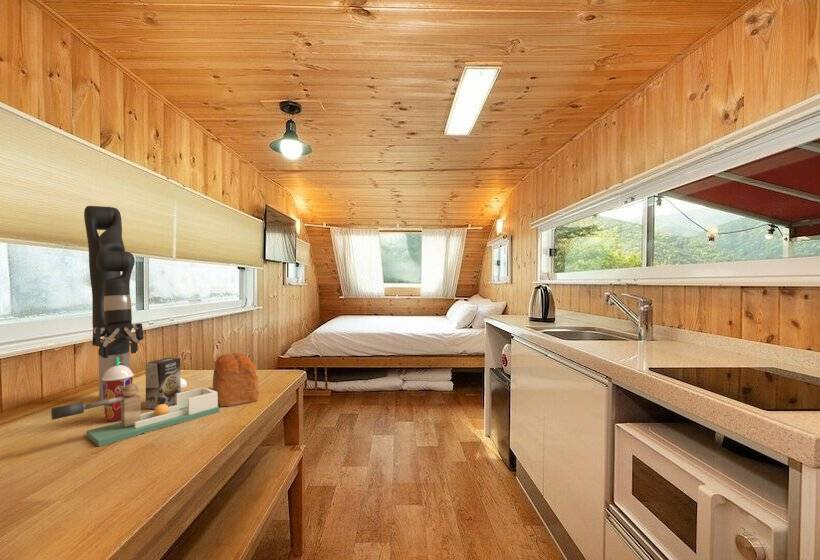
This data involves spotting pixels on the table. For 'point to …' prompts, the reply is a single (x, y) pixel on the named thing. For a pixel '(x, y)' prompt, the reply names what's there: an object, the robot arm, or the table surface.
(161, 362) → the coffee box
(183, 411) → the pitch
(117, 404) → the smoothie
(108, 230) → the robot arm
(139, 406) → the rod
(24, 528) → the table surface
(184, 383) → the garlic bulb
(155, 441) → the table surface
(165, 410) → the ball
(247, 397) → the bread
